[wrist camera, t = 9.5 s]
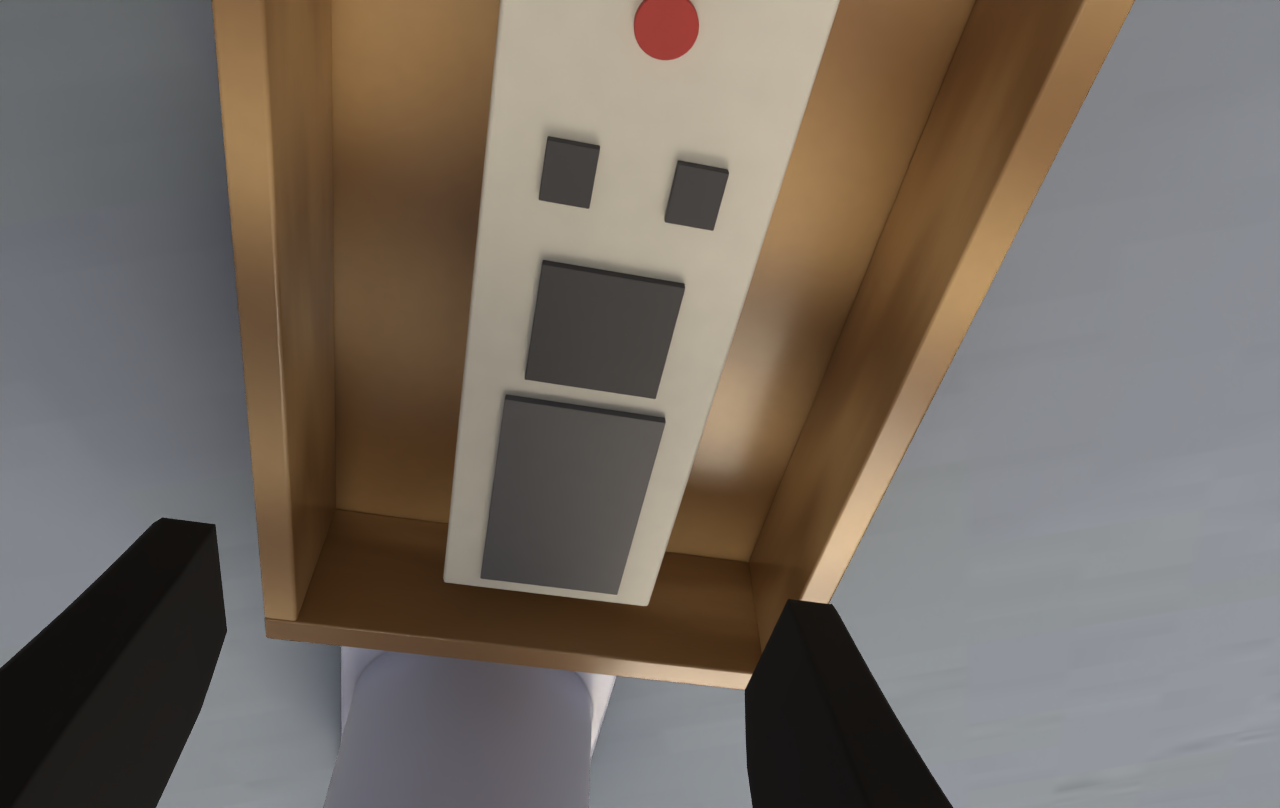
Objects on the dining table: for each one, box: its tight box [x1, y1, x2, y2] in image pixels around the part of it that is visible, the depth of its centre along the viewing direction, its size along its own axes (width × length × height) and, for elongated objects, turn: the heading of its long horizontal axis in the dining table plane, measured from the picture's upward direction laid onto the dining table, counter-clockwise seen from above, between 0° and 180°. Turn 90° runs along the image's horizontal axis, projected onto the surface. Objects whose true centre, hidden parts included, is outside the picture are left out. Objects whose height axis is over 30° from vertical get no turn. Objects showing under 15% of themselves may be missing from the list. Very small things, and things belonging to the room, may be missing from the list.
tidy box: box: [212, 0, 1135, 690], centre depth 17 cm, size 18×12×4 cm
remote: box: [443, 0, 840, 606], centre depth 17 cm, size 14×5×3 cm, turn 169°
